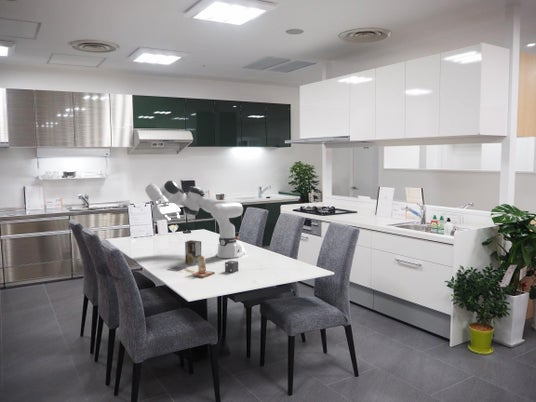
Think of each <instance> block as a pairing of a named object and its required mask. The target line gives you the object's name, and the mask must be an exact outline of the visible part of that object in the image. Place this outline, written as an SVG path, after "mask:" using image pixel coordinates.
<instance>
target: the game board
mask: <svg viewBox="0 0 536 402" xmlns="http://www.w3.org/2000/svg"><path fill="white" fill-rule="evenodd" d="M166 271H171V272H176V273H177V272H179V273H182V274H183V273H184V274H189V275H194V276H192V277H194V278H200V279H205V278H207V277H210V276H212V275H215V271H211V270H206V273H204V274H199V269H197V268H196V269H195V268H188V267H183V266H182V267H181V266H177V265H176V266H174V267H171V268H168V269H166Z"/></svg>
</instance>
